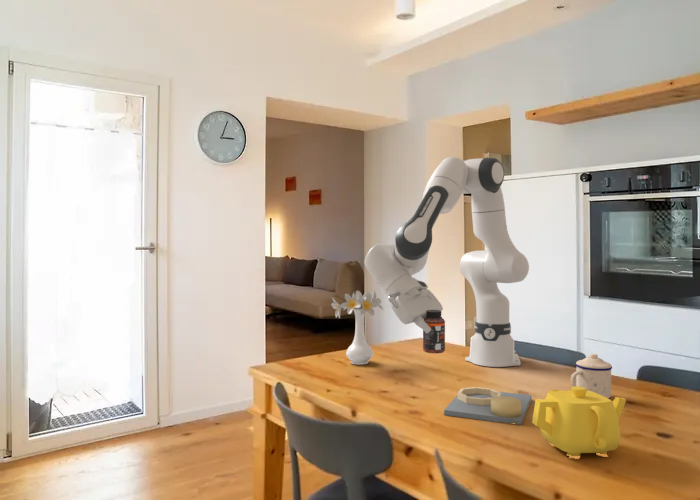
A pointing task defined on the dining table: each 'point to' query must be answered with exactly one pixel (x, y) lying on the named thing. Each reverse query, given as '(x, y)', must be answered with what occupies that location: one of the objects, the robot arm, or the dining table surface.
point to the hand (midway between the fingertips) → (436, 329)
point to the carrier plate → (489, 405)
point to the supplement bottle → (434, 333)
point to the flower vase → (358, 324)
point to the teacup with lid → (593, 375)
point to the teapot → (579, 420)
